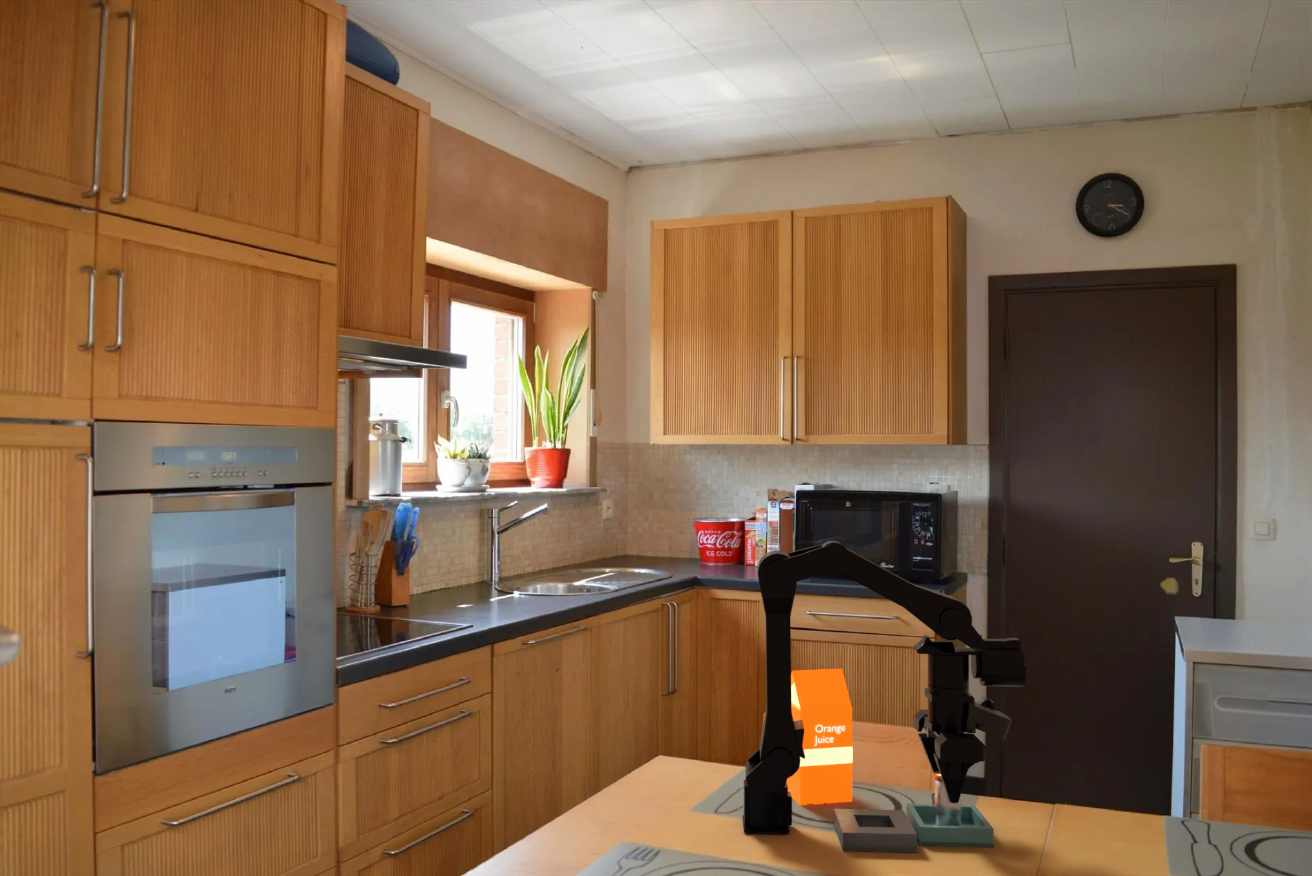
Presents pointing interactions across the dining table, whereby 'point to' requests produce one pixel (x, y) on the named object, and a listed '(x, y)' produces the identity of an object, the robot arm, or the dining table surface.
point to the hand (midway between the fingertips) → (948, 794)
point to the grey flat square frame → (875, 831)
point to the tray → (951, 827)
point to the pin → (945, 805)
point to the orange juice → (822, 737)
